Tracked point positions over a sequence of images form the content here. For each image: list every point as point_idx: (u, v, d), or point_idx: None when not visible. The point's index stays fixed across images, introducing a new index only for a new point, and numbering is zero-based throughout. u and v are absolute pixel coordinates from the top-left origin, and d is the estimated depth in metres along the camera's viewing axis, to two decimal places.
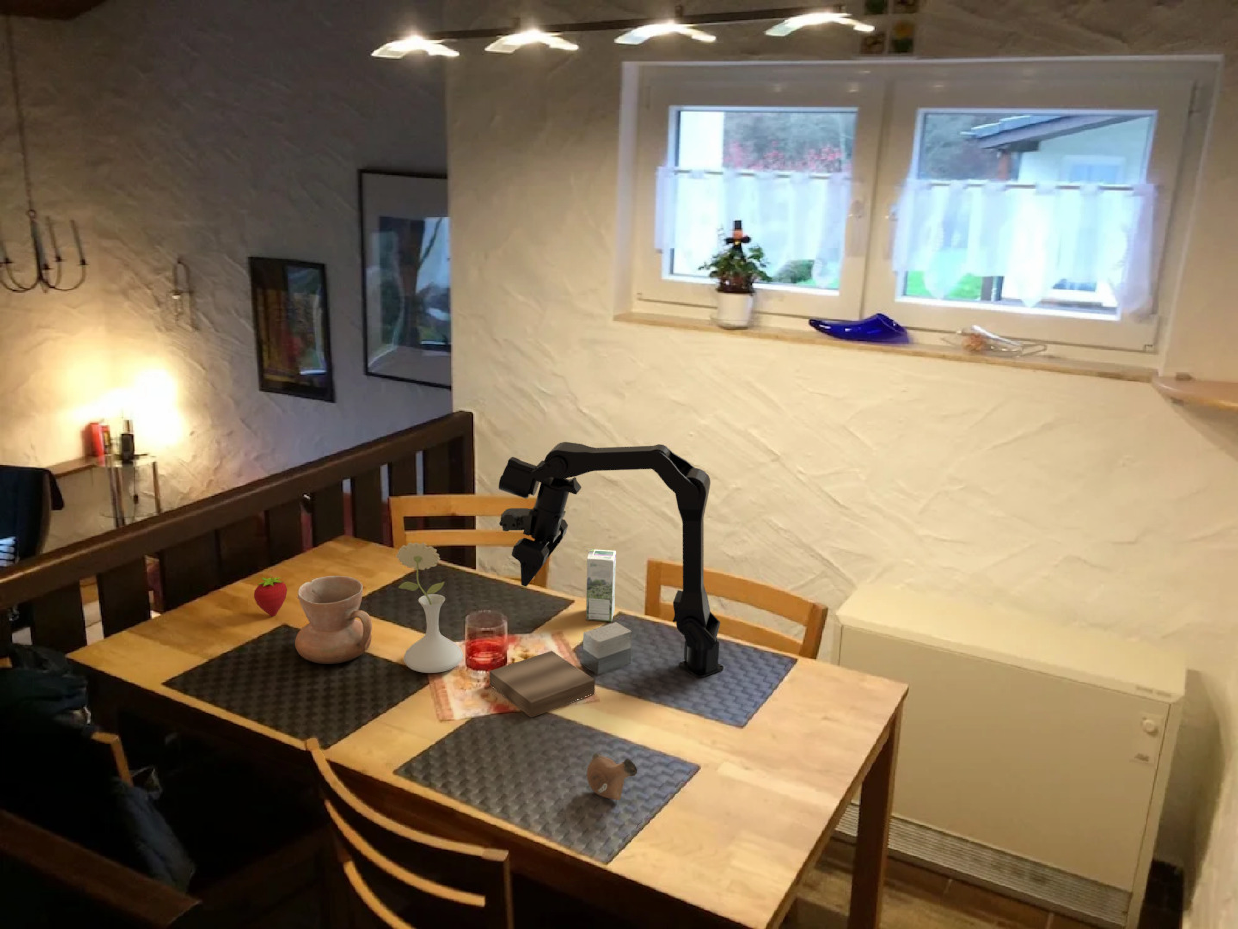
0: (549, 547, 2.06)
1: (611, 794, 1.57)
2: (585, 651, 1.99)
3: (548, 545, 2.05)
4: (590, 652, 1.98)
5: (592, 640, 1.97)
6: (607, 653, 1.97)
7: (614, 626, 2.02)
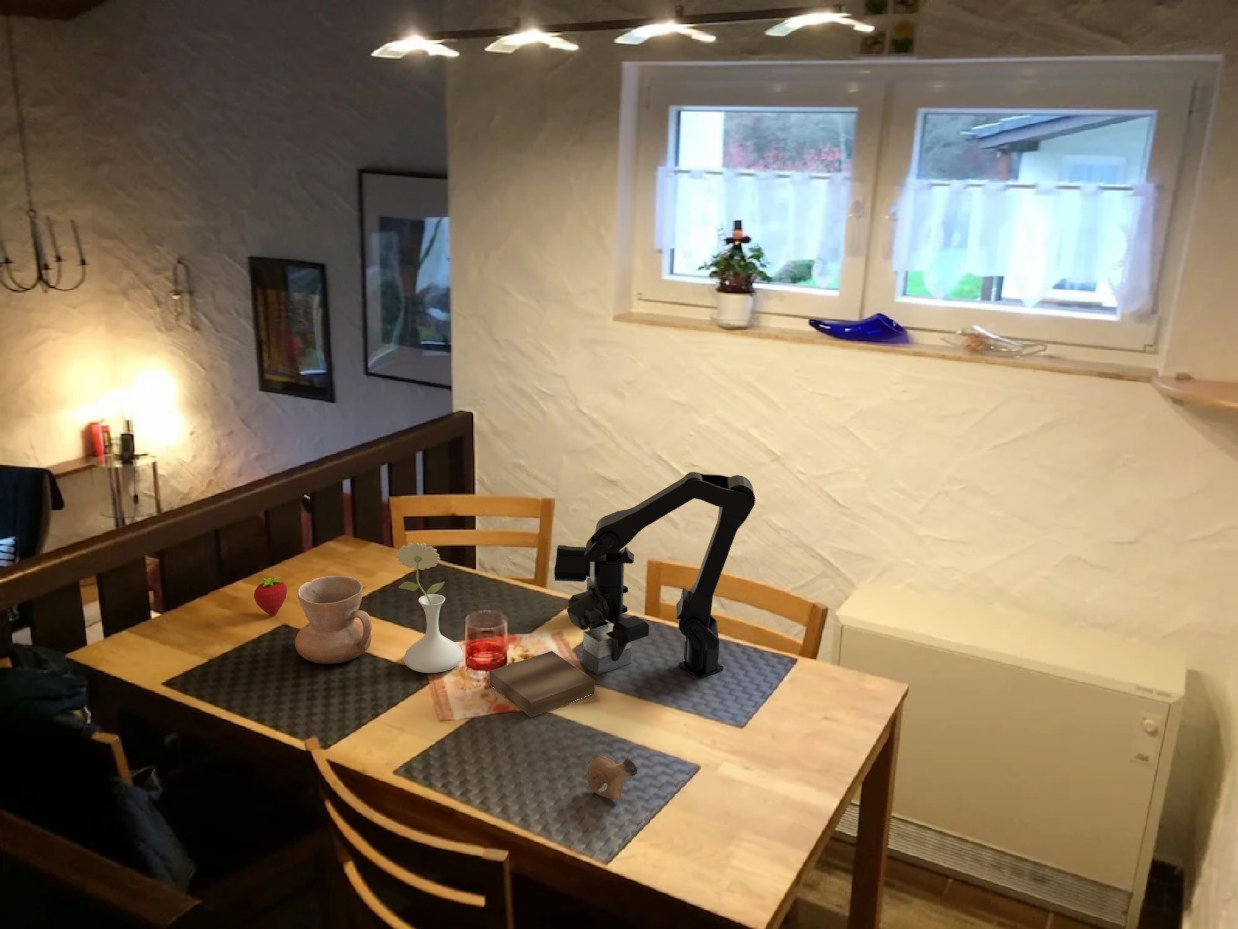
0: (603, 625, 2.02)
1: (611, 794, 1.57)
2: (585, 651, 1.99)
3: (602, 623, 2.02)
4: (590, 652, 1.98)
5: (592, 639, 1.97)
6: (607, 653, 1.97)
7: None
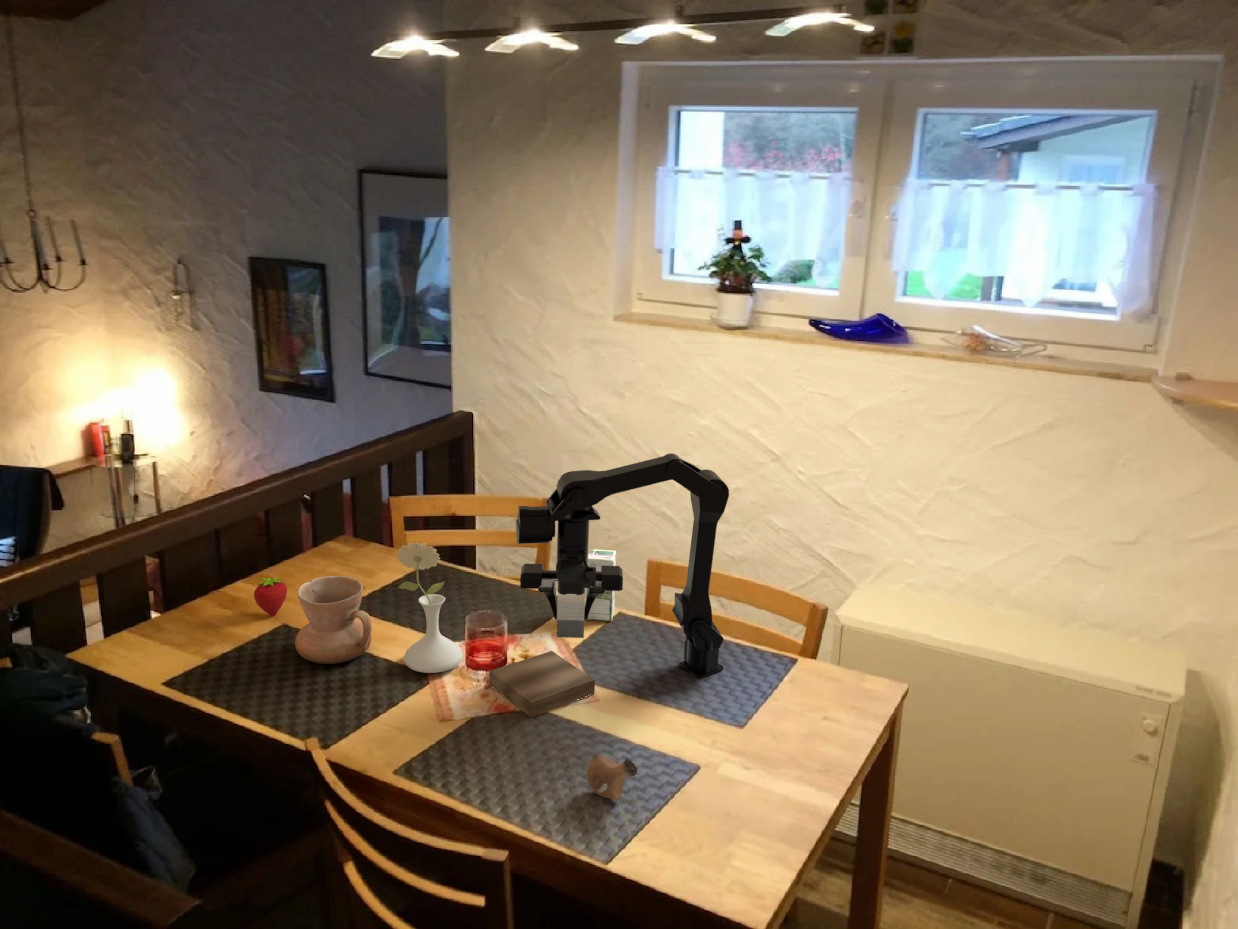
0: (555, 591, 1.92)
1: (611, 794, 1.57)
2: (560, 621, 1.88)
3: (555, 590, 1.91)
4: (570, 619, 1.88)
5: (574, 604, 1.87)
6: None
7: None
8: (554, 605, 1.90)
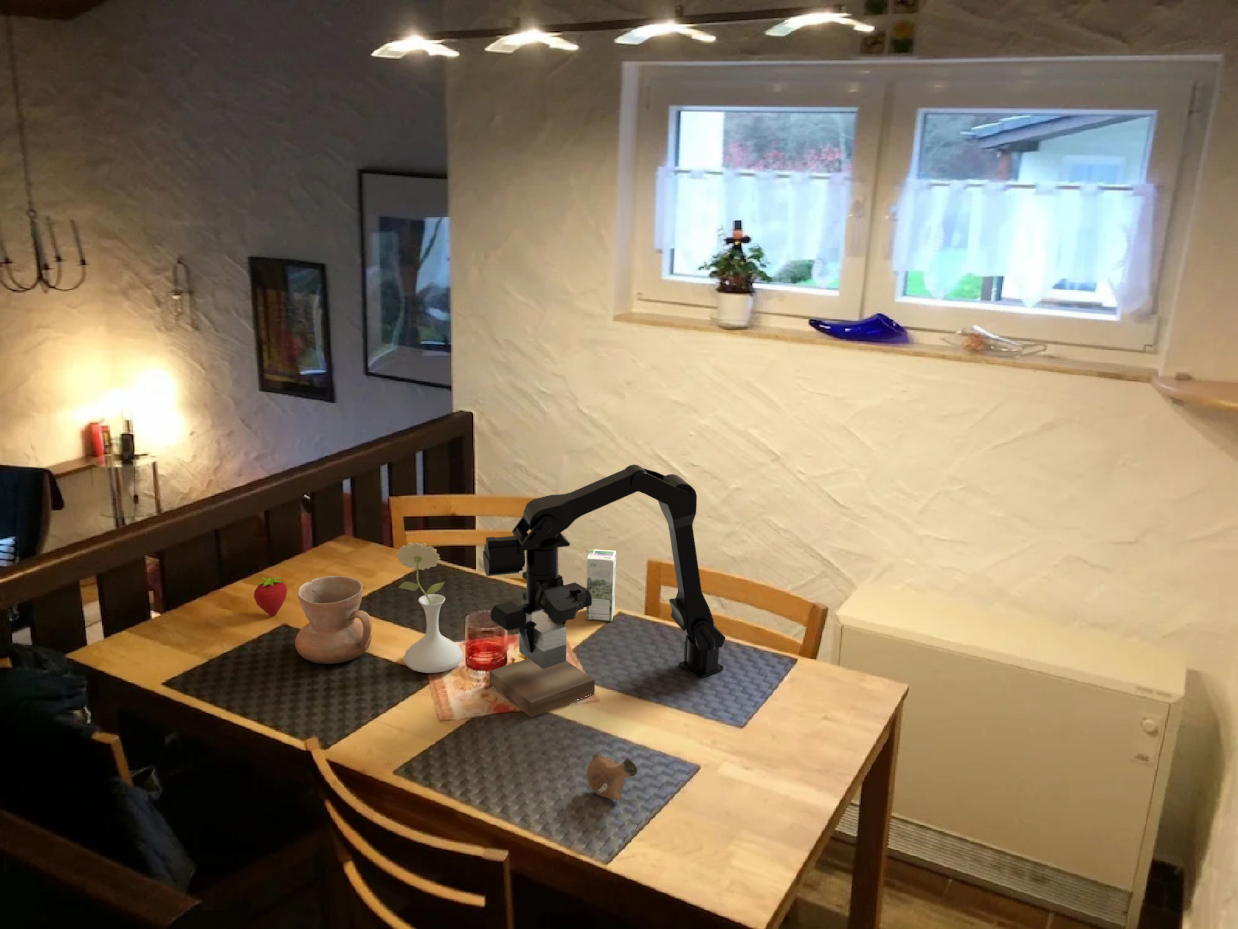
0: None
1: (611, 794, 1.57)
2: (546, 652, 1.84)
3: None
4: (554, 646, 1.85)
5: (557, 631, 1.85)
6: None
7: None
8: (532, 638, 1.85)
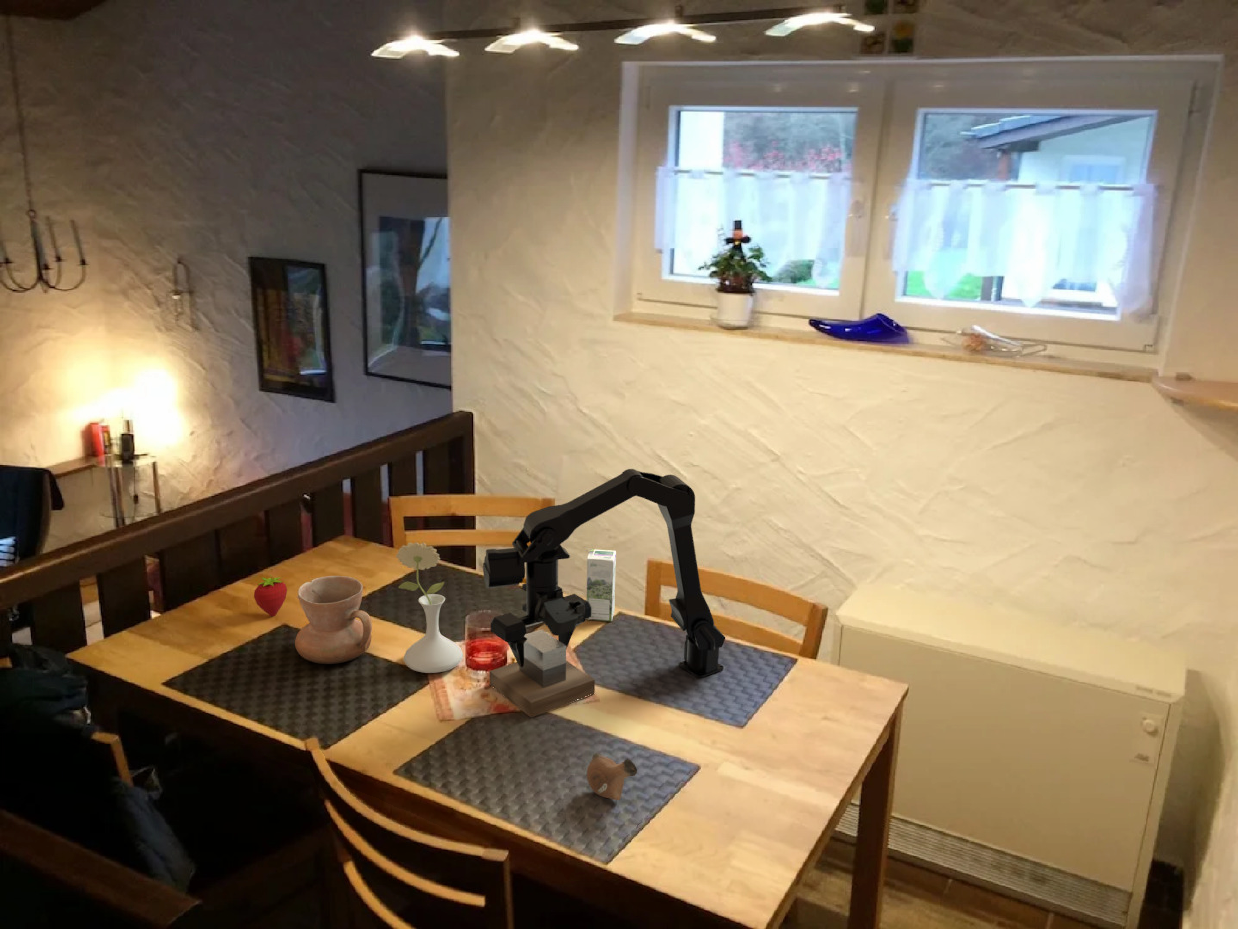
0: None
1: (611, 794, 1.57)
2: (546, 671, 1.85)
3: None
4: (554, 665, 1.86)
5: (557, 650, 1.86)
6: None
7: (529, 637, 1.90)
8: (522, 653, 1.85)
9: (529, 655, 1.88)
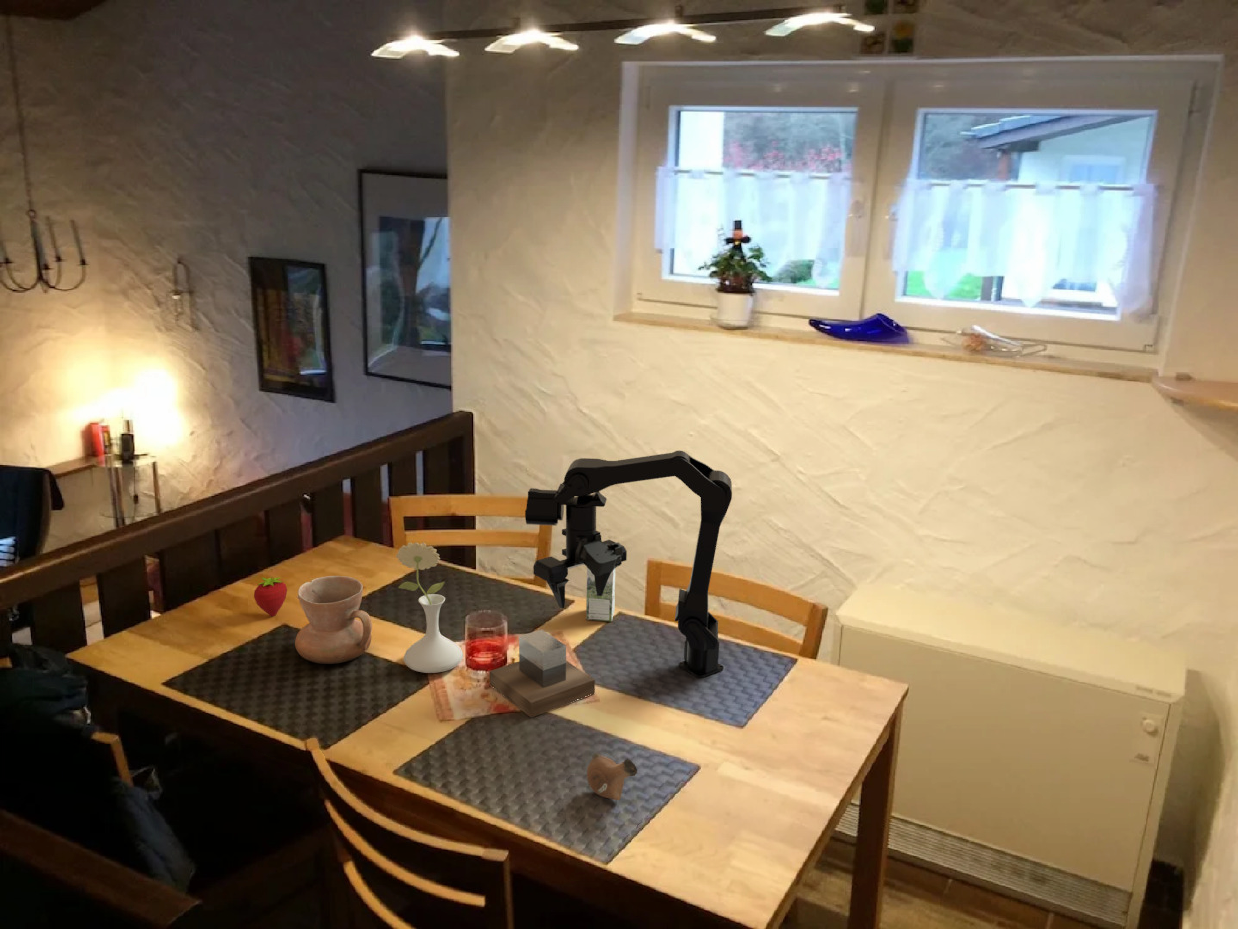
0: None
1: (611, 794, 1.57)
2: (546, 671, 1.85)
3: None
4: (554, 665, 1.86)
5: (557, 650, 1.86)
6: None
7: (529, 637, 1.90)
8: (563, 594, 1.94)
9: (529, 655, 1.88)
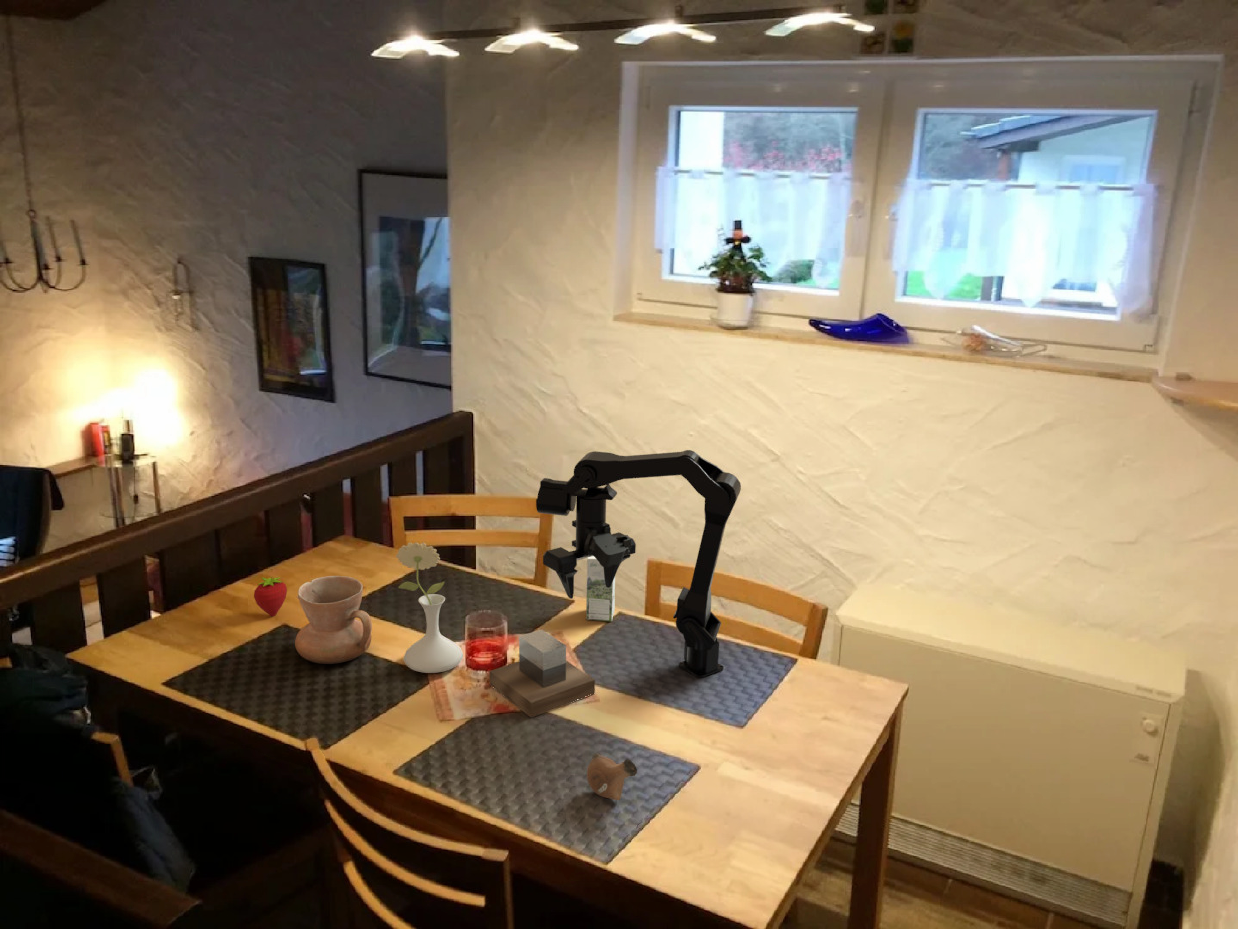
0: None
1: (611, 794, 1.57)
2: (546, 671, 1.85)
3: None
4: (554, 665, 1.86)
5: (557, 650, 1.86)
6: None
7: (529, 637, 1.90)
8: (572, 585, 1.97)
9: (529, 655, 1.88)
